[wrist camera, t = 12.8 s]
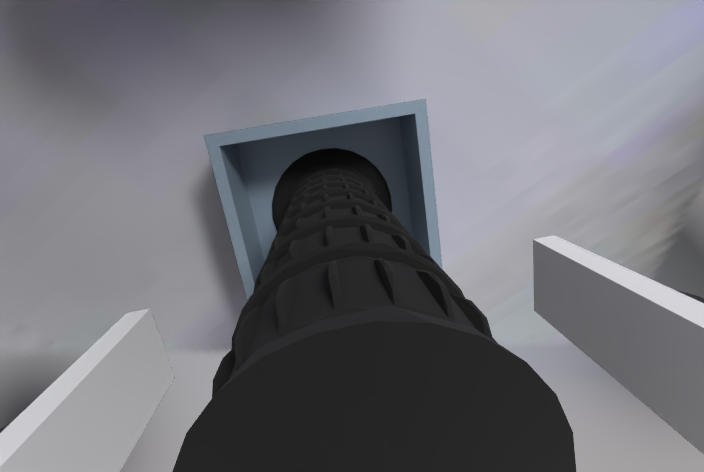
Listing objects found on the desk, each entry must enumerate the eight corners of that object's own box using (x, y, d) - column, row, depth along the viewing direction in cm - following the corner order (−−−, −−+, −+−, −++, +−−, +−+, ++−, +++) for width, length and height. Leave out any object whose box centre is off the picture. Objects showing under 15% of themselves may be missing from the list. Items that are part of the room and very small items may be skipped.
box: (226, 135, 29) (203, 135, 24) (405, 105, 30) (425, 98, 24) (267, 299, 33) (256, 334, 28) (424, 271, 34) (445, 299, 28)
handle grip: (247, 218, 30) (340, 288, 33) (-138, 658, 5) (411, 831, 7) (323, 121, 29) (416, 201, 31) (348, 22, 3) (845, 503, 6)
